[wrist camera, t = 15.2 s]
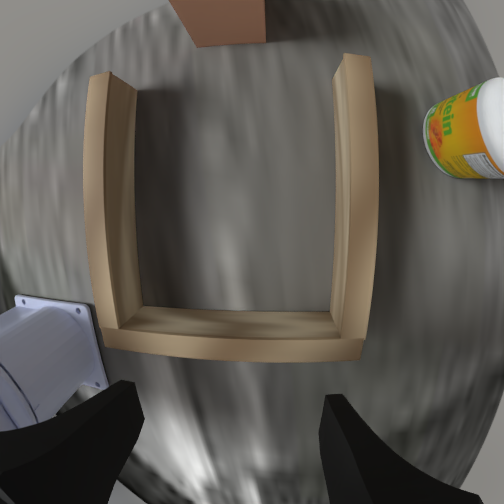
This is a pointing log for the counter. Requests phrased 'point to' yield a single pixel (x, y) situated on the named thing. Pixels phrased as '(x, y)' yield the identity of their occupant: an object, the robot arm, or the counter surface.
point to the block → (222, 21)
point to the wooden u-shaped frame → (219, 321)
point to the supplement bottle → (468, 132)
